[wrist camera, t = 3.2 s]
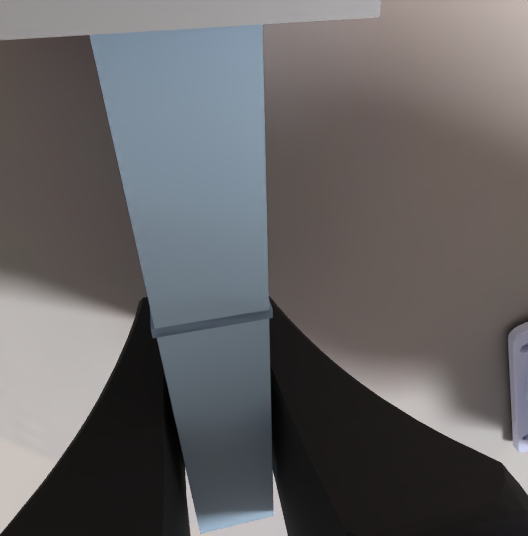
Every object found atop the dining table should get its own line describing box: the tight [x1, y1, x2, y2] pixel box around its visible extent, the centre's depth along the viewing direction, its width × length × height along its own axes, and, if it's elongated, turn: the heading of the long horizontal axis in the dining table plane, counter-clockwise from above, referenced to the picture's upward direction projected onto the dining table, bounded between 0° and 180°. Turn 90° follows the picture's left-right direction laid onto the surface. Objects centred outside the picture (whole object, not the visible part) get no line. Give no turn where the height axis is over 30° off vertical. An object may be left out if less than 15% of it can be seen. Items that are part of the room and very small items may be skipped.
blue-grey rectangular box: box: [89, 24, 273, 533], centre depth 8 cm, size 13×2×6 cm, turn 1°
